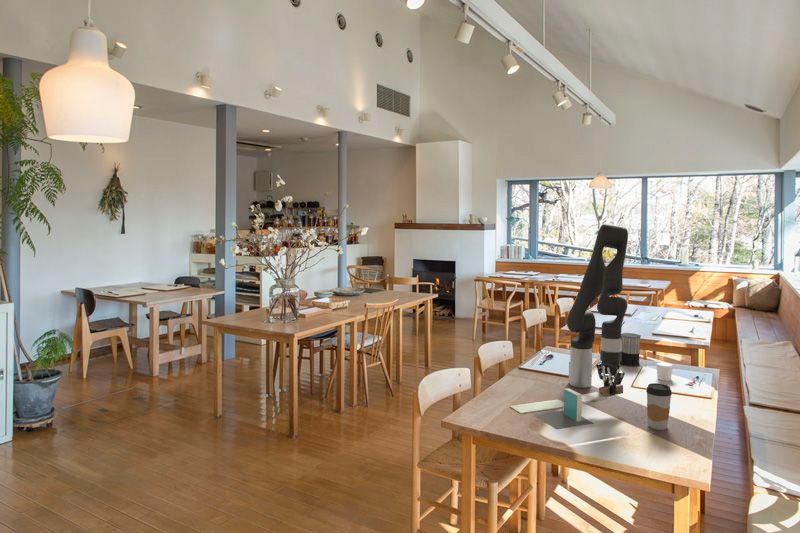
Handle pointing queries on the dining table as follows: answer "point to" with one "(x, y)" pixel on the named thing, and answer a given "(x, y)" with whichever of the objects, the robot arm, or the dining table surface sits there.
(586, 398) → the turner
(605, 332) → the robot arm
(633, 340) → the milk frother
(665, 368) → the white cup
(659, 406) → the coffee cup
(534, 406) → the board
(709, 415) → the dining table surface
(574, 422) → the mat
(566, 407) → the tile
